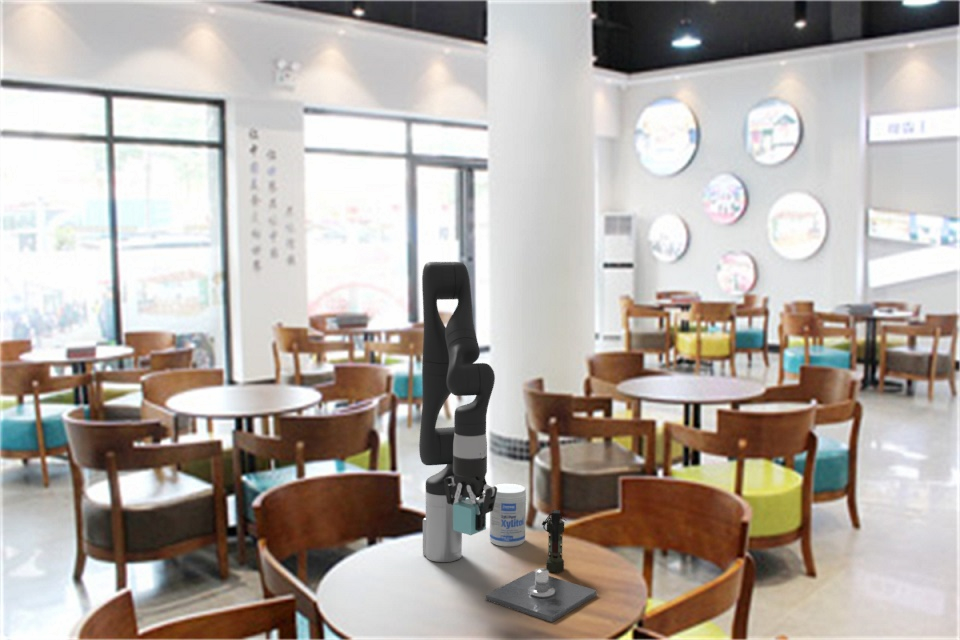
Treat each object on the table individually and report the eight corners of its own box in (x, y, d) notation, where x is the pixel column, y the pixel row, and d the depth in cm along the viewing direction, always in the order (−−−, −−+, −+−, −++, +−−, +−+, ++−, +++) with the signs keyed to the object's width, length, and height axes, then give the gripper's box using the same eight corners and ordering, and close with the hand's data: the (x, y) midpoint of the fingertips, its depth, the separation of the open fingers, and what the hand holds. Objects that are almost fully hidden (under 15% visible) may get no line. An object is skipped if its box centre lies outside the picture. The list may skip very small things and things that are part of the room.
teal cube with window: (453, 530, 194) (453, 502, 193) (468, 524, 198) (468, 496, 197) (471, 535, 190) (471, 507, 190) (485, 529, 194) (486, 501, 194)
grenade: (565, 576, 209) (566, 515, 207) (540, 575, 209) (541, 514, 208) (565, 566, 215) (566, 507, 214) (541, 565, 216) (542, 506, 214)
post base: (485, 599, 195) (485, 572, 195) (532, 575, 209) (532, 550, 208) (551, 622, 184) (552, 593, 183) (596, 595, 198) (597, 568, 197)
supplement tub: (503, 550, 226) (504, 495, 225) (482, 540, 234) (482, 486, 232) (532, 543, 232) (533, 489, 230) (511, 533, 239) (511, 481, 238)
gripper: (434, 450, 194) (434, 524, 196) (484, 461, 185) (484, 539, 187) (456, 444, 200) (456, 515, 201) (506, 454, 191) (505, 529, 192)
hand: (469, 526), depth 194 cm, fingers closed on teal cube with window, 5 cm apart
